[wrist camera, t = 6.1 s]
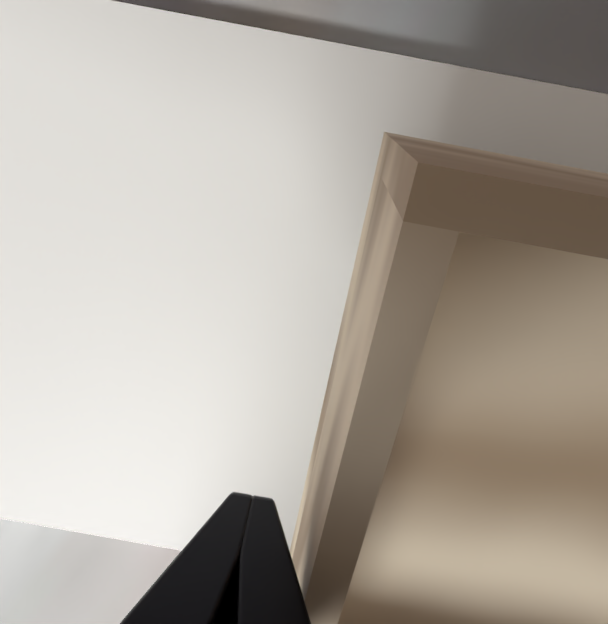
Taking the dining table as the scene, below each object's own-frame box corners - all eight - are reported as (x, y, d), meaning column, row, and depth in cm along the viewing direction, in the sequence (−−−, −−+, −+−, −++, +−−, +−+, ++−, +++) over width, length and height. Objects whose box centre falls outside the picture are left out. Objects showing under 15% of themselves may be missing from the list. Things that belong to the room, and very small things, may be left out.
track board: (809, 654, 17) (819, 666, 17) (-27, 506, 17) (-35, 515, 17) (1239, 214, 11) (1270, 218, 10) (-110, -41, 11) (-125, -45, 10)
